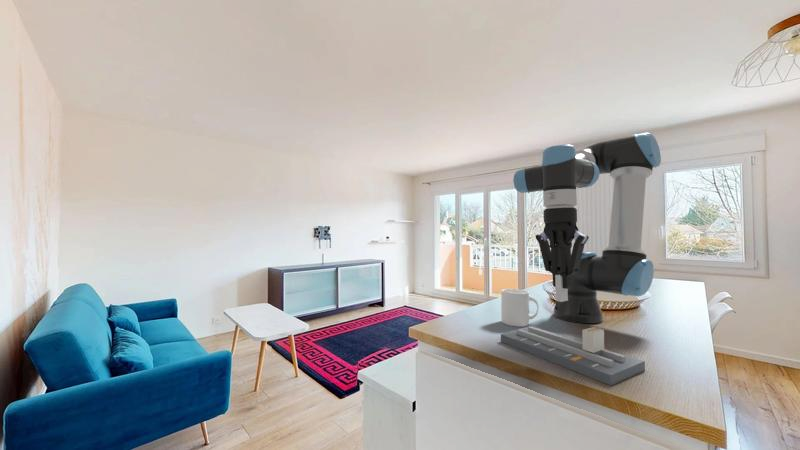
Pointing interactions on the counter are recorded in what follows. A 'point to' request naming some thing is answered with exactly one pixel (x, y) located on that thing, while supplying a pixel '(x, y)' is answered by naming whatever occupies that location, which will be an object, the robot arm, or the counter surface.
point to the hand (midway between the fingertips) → (561, 300)
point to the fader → (593, 340)
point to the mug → (516, 307)
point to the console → (574, 355)
